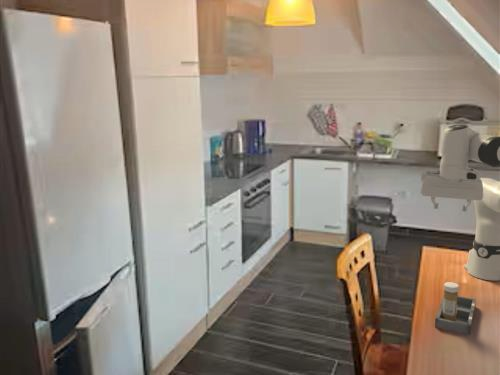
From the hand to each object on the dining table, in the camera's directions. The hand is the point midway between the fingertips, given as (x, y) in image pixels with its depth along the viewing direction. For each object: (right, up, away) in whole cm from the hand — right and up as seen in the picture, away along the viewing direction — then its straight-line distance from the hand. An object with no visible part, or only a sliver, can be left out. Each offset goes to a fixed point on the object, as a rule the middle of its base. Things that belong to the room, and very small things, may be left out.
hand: (450, 209), depth 168 cm
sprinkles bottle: (-4, -38, -8) cm, 39 cm away
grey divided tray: (0, -37, -5) cm, 37 cm away
